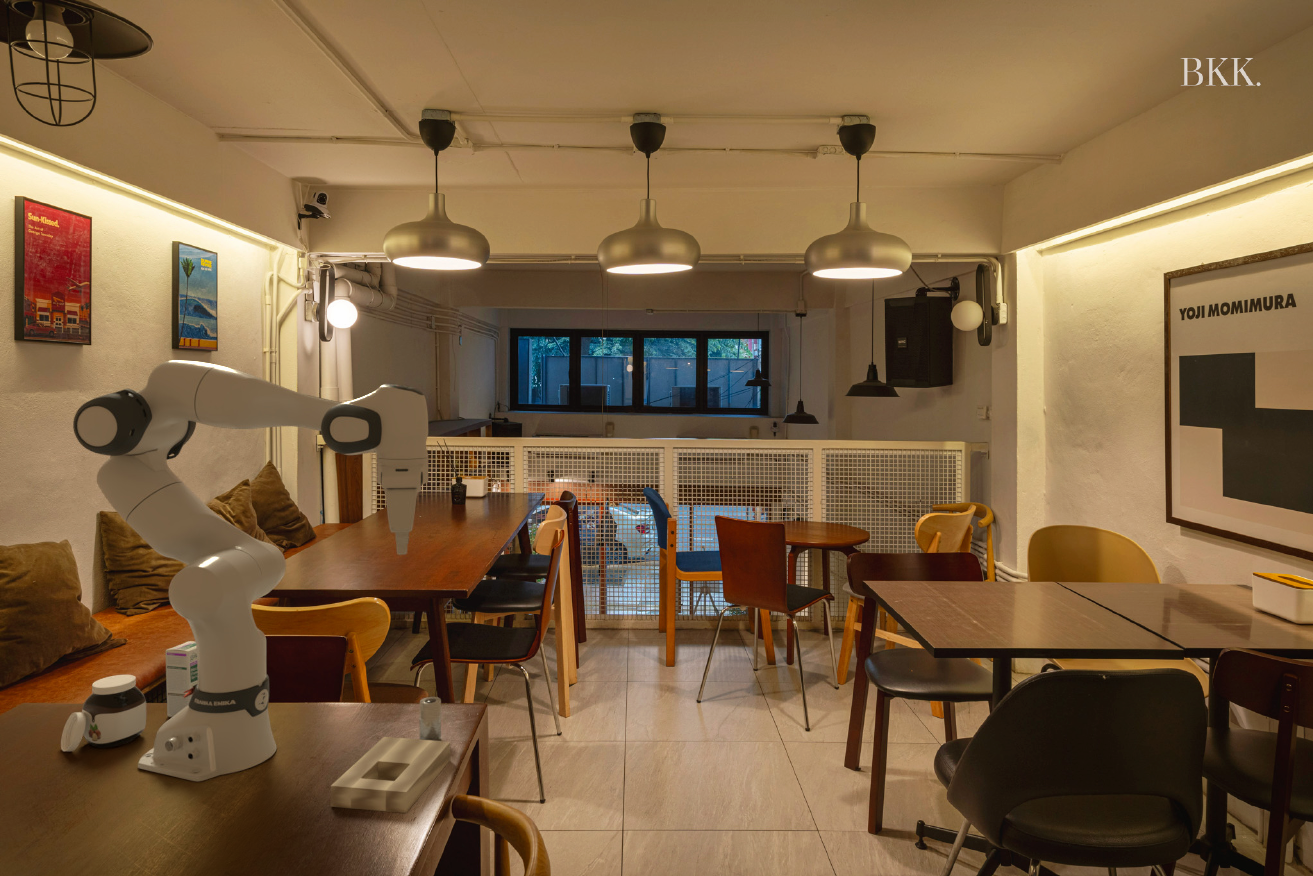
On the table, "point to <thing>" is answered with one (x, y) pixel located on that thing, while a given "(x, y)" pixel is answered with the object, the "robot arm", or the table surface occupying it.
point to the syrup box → (180, 675)
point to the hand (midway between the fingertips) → (402, 548)
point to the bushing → (430, 719)
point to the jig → (391, 775)
